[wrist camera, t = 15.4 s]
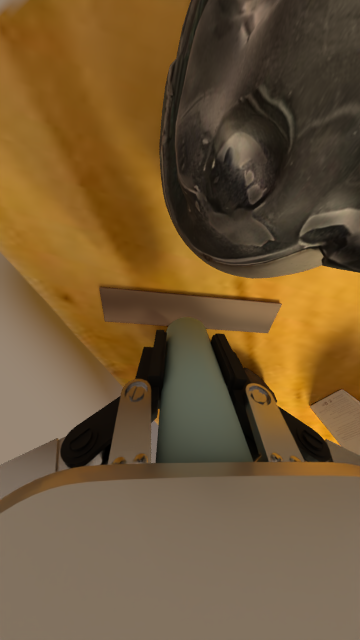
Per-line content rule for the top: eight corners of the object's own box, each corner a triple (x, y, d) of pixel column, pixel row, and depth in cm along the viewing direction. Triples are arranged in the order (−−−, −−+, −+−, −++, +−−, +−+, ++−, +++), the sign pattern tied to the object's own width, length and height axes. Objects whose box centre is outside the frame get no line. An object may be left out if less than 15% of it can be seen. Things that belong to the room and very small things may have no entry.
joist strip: (266, 331, 19) (267, 333, 18) (106, 320, 17) (104, 321, 17) (280, 303, 17) (281, 304, 17) (100, 286, 15) (99, 287, 15)
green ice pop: (208, 316, 11) (574, 1131, 1) (204, 350, 13) (326, 789, 3) (165, 317, 11) (64, 1257, 1) (166, 350, 13) (137, 817, 3)
